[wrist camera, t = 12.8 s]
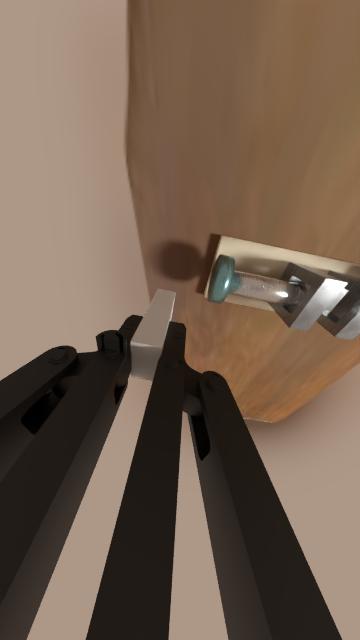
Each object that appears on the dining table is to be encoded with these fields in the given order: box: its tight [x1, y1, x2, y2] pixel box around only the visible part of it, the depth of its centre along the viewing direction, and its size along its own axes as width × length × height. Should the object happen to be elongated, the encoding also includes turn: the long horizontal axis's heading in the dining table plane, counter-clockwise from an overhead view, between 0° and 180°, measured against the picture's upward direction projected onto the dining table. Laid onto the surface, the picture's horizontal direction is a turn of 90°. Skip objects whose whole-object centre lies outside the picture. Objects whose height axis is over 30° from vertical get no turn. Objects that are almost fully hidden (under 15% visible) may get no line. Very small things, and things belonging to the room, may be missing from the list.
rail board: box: [204, 235, 360, 312], centre depth 26 cm, size 10×36×2 cm, turn 80°
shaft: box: [207, 254, 311, 307], centre depth 21 cm, size 16×6×6 cm, turn 80°
